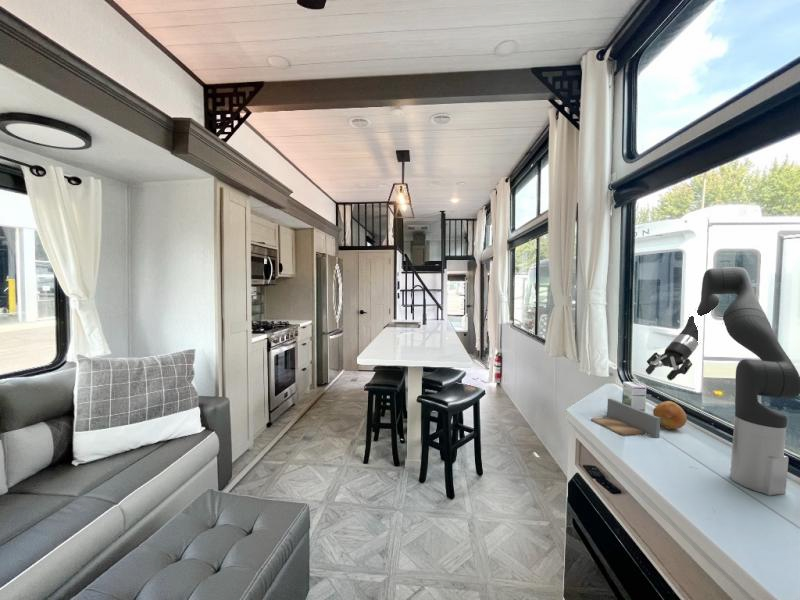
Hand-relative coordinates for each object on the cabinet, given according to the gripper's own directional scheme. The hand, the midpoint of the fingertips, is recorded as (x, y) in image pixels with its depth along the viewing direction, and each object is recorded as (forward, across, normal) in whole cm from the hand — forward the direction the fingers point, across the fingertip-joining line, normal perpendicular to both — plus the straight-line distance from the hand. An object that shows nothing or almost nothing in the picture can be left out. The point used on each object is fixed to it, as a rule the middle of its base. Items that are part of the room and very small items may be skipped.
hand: (657, 375), depth 132 cm
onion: (+15, +9, +9) cm, 20 cm away
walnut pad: (+30, +5, -5) cm, 30 cm away
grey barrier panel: (+25, +5, 0) cm, 25 cm away
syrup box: (+20, 0, +4) cm, 21 cm away
